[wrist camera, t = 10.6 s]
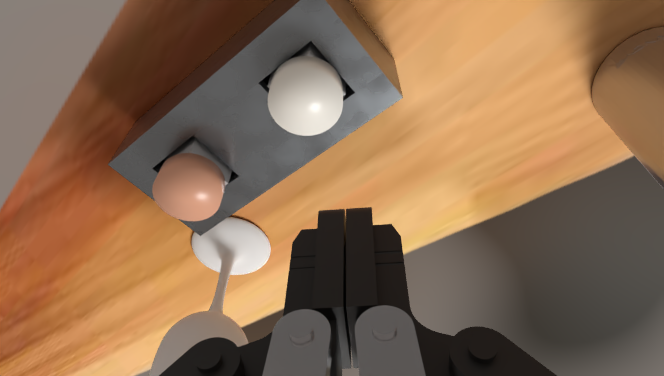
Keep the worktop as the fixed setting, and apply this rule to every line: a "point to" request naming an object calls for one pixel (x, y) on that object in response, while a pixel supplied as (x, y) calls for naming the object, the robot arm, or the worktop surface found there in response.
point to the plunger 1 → (191, 182)
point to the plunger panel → (261, 101)
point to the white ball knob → (306, 93)
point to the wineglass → (229, 259)
